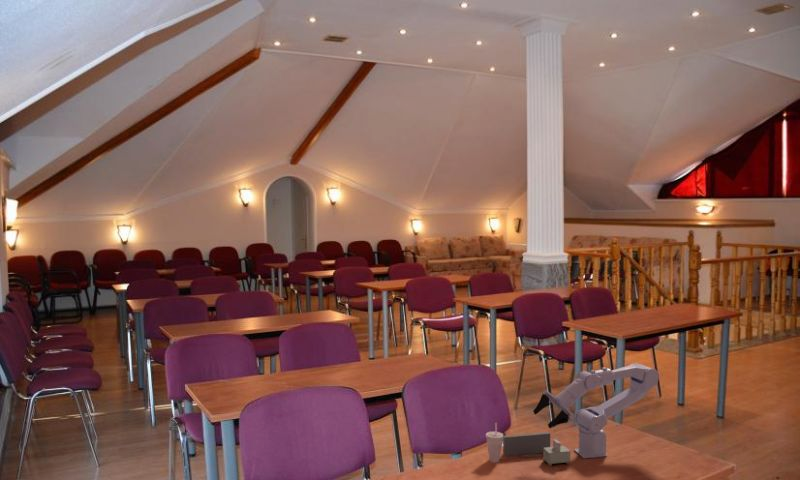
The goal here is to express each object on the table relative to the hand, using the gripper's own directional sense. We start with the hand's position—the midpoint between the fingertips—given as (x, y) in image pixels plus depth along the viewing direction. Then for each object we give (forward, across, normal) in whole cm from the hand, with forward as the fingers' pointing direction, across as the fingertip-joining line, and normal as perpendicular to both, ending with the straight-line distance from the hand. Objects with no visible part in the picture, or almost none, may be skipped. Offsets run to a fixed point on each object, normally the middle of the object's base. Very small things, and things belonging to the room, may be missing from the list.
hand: (541, 419), depth 245 cm
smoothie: (+21, -3, +7) cm, 23 cm away
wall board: (+9, 0, +14) cm, 17 cm away
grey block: (+5, +10, +12) cm, 16 cm away
